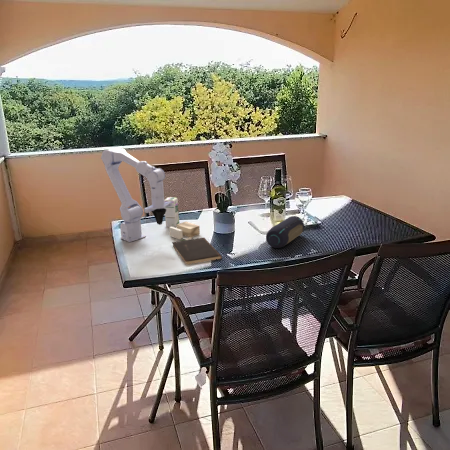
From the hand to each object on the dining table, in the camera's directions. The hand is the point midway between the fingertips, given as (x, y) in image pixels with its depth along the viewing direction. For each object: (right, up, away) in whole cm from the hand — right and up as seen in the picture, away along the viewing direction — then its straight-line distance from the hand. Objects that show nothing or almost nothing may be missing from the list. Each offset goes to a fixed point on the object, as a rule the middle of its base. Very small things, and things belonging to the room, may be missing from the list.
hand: (159, 224), depth 199 cm
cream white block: (+8, -7, +8) cm, 13 cm away
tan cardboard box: (+9, -6, +11) cm, 15 cm away
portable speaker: (+59, -8, +2) cm, 60 cm away
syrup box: (+3, -1, +27) cm, 27 cm away
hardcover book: (+17, -13, -8) cm, 23 cm away
